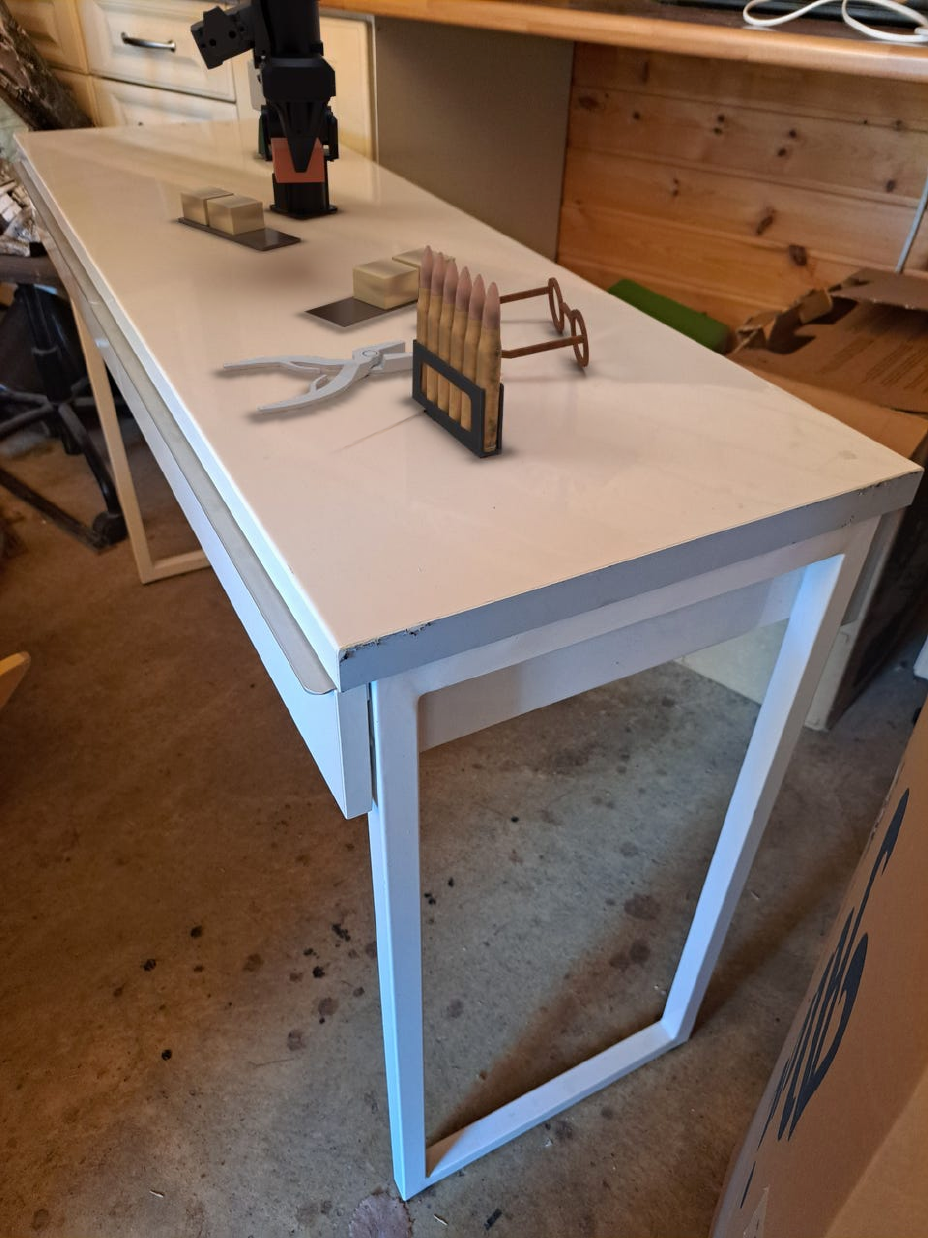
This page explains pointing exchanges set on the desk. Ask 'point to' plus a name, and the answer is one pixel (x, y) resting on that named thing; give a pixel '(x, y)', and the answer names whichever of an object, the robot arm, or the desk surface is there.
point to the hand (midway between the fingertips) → (298, 166)
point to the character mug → (256, 100)
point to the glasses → (558, 324)
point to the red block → (285, 166)
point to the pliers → (362, 364)
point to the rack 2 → (379, 289)
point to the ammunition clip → (459, 354)
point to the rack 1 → (231, 218)
